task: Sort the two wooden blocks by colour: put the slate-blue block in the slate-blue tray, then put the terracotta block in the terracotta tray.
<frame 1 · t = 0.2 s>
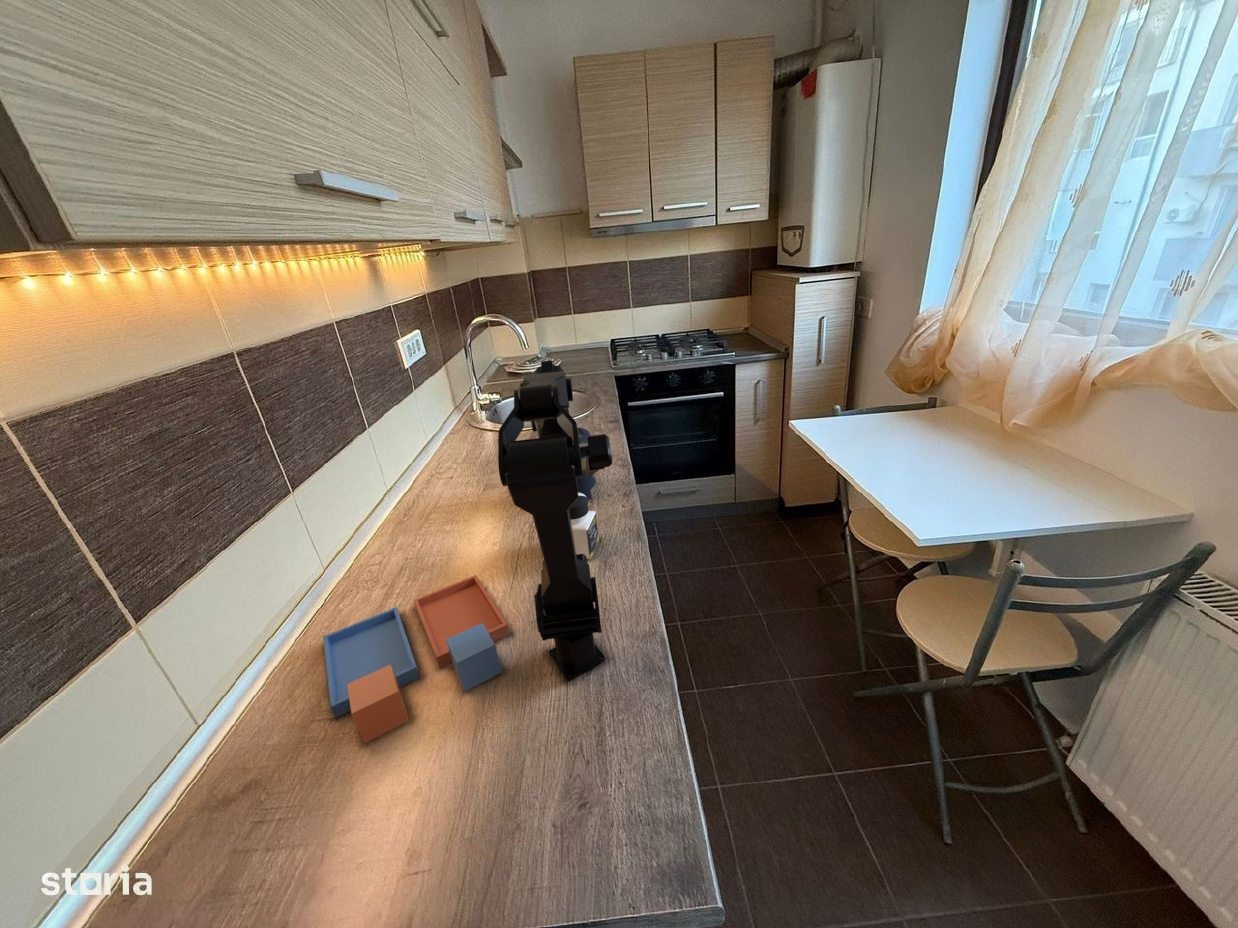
hand: (564, 479, 93), 15 cm above the worktop, tool tilted 30°, fingers open, 9 cm apart
blue block: (477, 669, 71), on the worktop
terracotta tray: (460, 621, 80), on the worktop
medicine bottle: (578, 549, 97), on the worktop
terracotta block: (383, 716, 64), on the worktop
blue tray: (371, 660, 74), on the worktop
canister: (578, 497, 118), on the worktop
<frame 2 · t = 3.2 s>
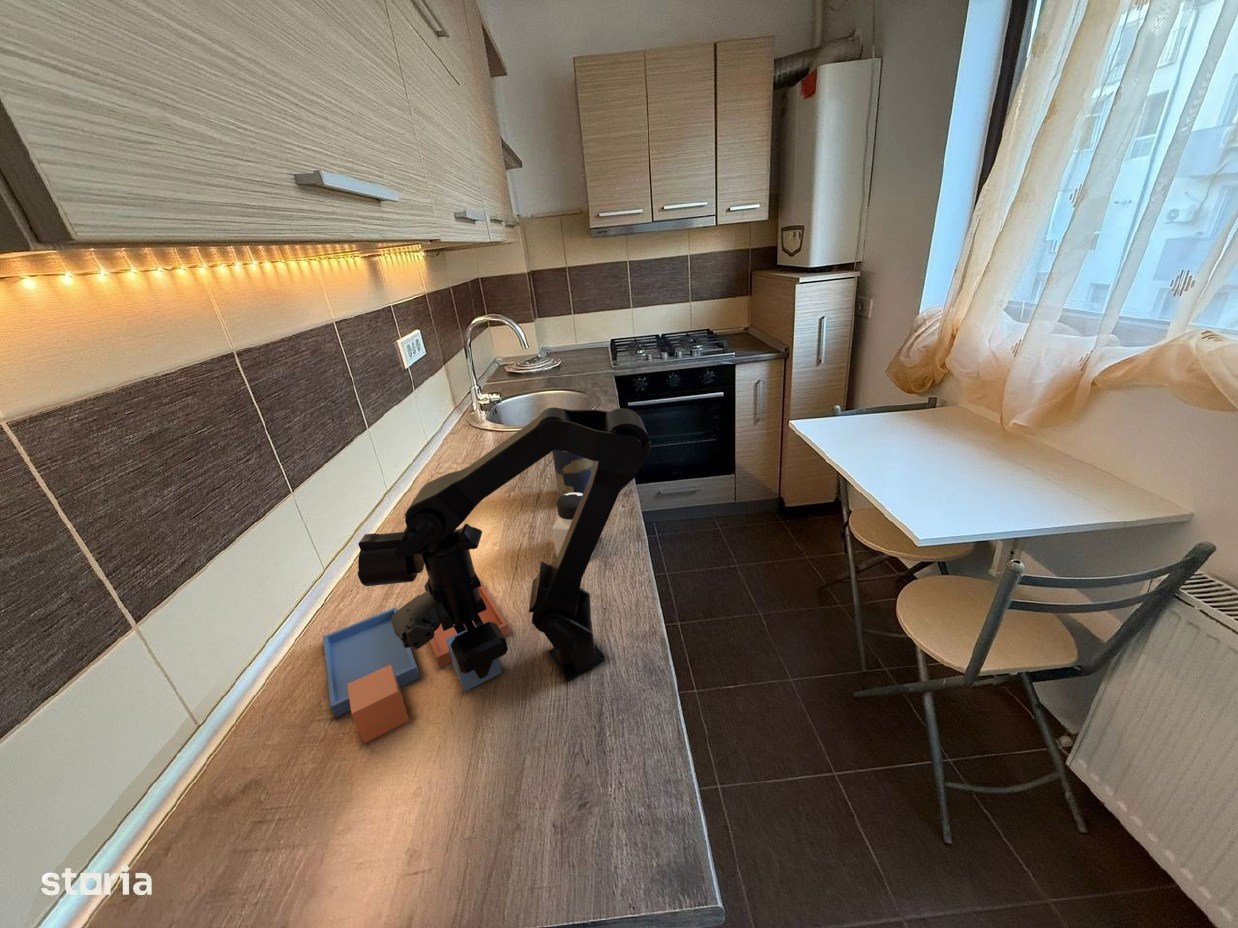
hand: (474, 657, 70), 2 cm above the worktop, tool pointing down, fingers open, 8 cm apart
nothing on the worktop moved.
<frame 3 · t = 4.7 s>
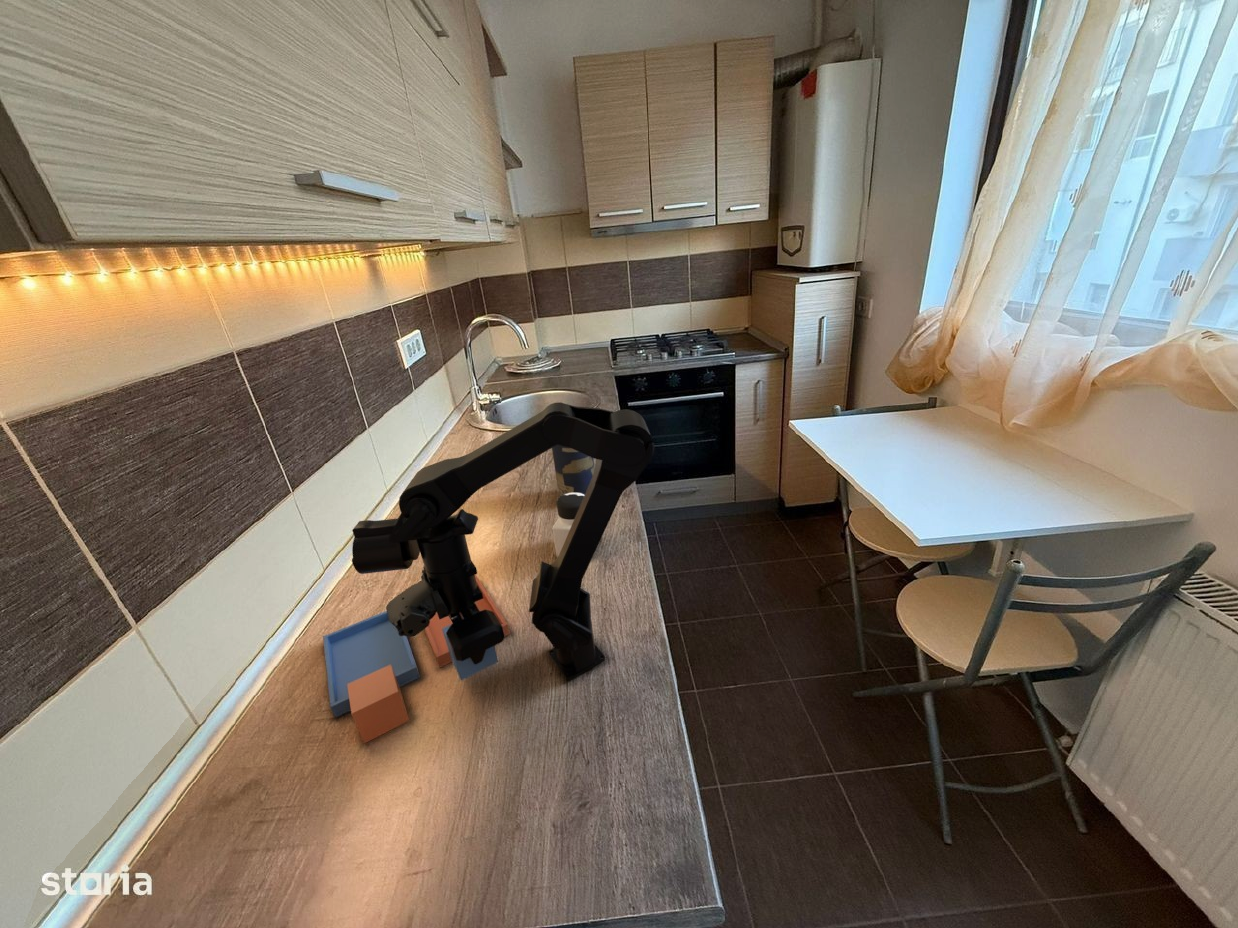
hand: (471, 649, 69), 4 cm above the worktop, tool pointing down, fingers closed on blue block, 5 cm apart
blue block: (474, 660, 69), point 2 cm above the worktop, touching gripper
everything else where it was.
when the fingers open (3 cm above the worktop, at t = 9.1 s): blue block stays where it is, resting on blue tray.
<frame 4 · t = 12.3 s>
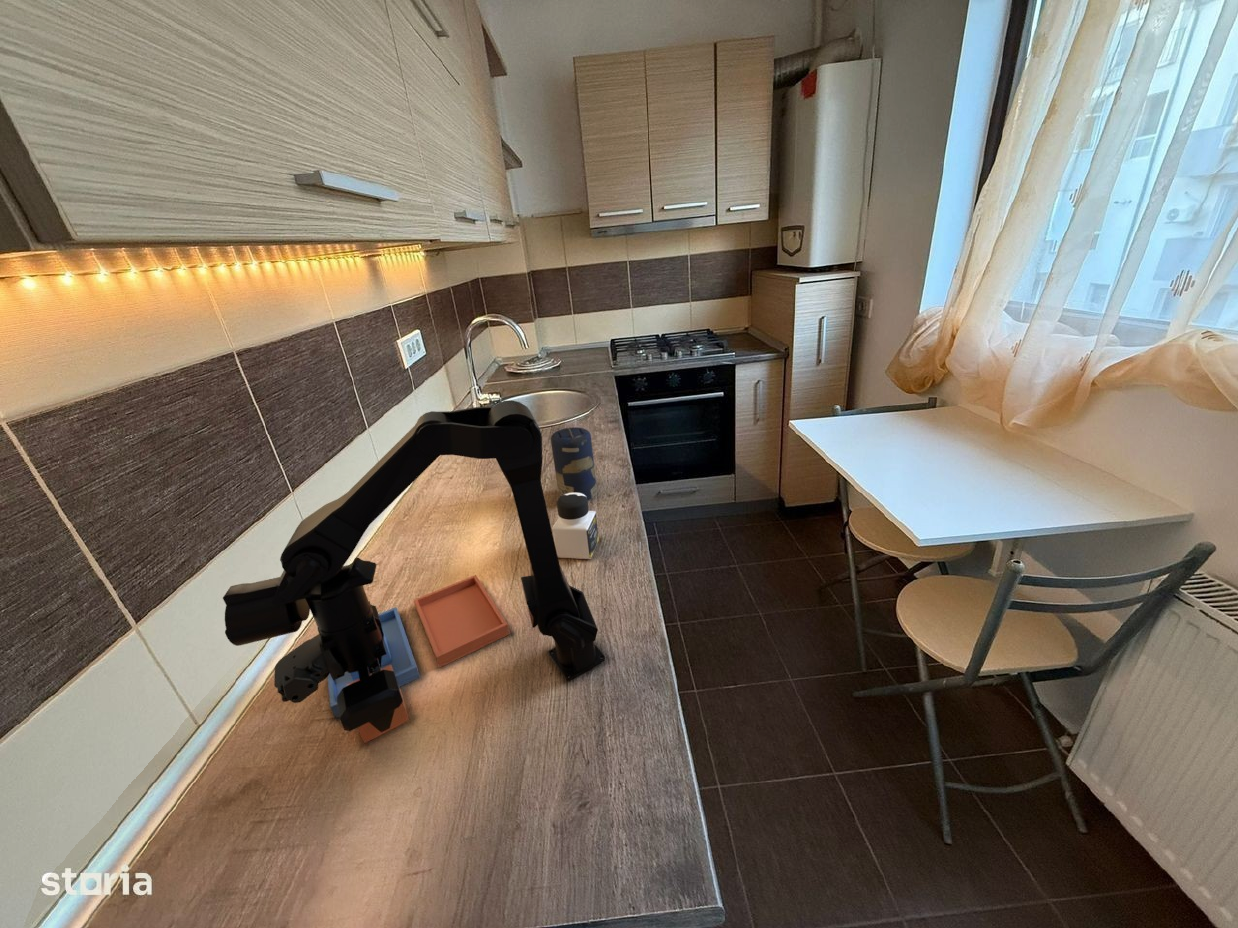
hand: (379, 704, 64), 2 cm above the worktop, tool pointing down, fingers open, 8 cm apart
blue block: (370, 658, 73), point 1 cm above the worktop, touching blue tray
everything else where it was.
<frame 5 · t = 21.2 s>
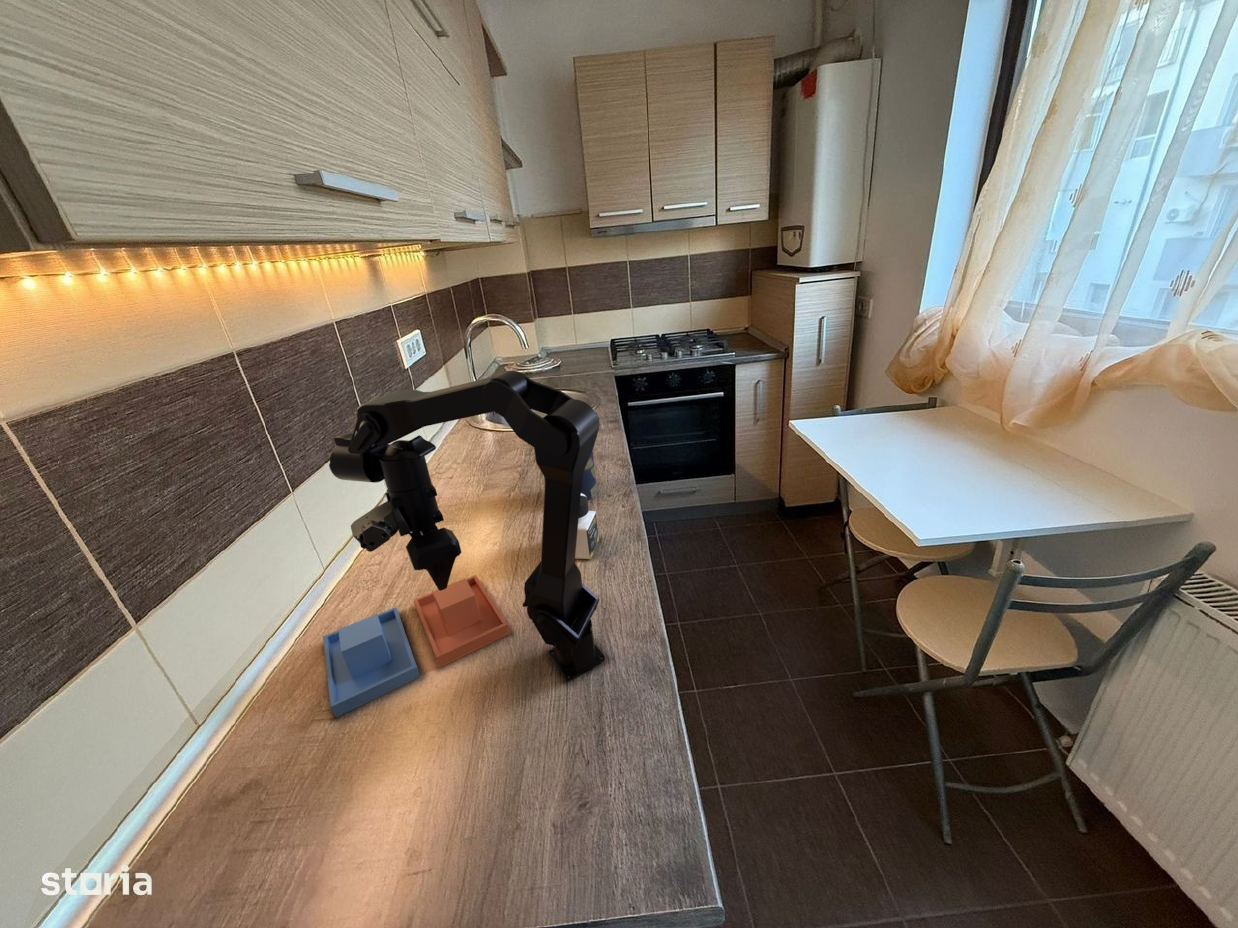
hand: (435, 573, 73), 12 cm above the worktop, tool pointing down, fingers open, 9 cm apart
terracotta block: (460, 619, 80), point 1 cm above the worktop, touching terracotta tray
everything else where it was.
at the end: blue block inside the target area in the blue tray (0.3 cm from its centre), point 0.6 cm above the blue tray's base; terracotta block inside the target area in the terracotta tray (0.2 cm from its centre), point 0.6 cm above the terracotta tray's base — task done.
